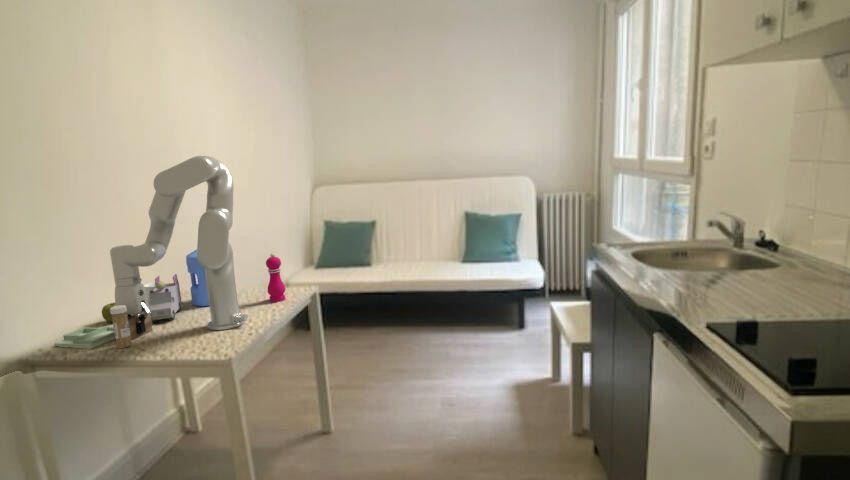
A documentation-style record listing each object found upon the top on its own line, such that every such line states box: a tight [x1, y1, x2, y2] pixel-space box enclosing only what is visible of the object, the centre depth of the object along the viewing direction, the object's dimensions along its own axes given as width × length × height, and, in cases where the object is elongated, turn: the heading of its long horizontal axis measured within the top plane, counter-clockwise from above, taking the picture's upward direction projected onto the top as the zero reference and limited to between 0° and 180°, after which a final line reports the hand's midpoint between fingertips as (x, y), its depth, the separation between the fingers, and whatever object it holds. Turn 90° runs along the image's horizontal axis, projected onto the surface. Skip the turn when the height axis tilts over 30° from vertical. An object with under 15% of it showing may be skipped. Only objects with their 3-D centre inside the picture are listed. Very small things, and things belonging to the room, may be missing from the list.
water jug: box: [185, 249, 210, 307], centre depth 211 cm, size 16×16×28 cm
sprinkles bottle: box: [110, 305, 133, 349], centre depth 163 cm, size 5×5×13 cm
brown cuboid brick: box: [127, 315, 153, 342], centre depth 173 cm, size 4×10×7 cm, turn 165°
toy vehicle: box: [148, 273, 183, 324], centre depth 194 cm, size 9×20×15 cm, turn 15°
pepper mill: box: [265, 252, 286, 303], centre depth 208 cm, size 7×7×20 cm
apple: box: [101, 302, 116, 324], centre depth 192 cm, size 8×8×7 cm
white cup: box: [143, 281, 166, 308], centre depth 208 cm, size 8×8×10 cm
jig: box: [53, 325, 116, 350], centre depth 173 cm, size 15×15×3 cm
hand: (136, 332), depth 174 cm, fingers closed on brown cuboid brick, 4 cm apart
